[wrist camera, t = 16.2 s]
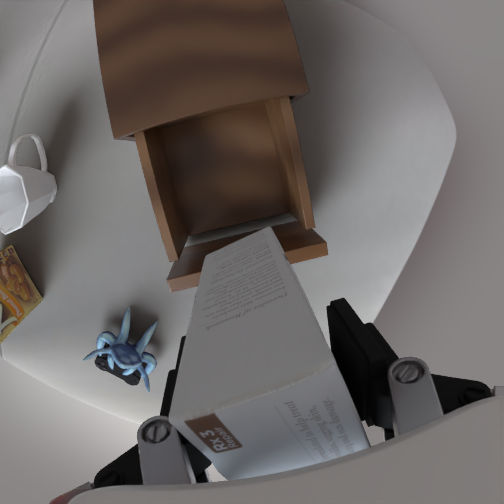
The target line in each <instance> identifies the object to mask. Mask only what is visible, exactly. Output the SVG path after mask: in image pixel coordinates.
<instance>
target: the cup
mask: <svg viewBox="0 0 504 504" xmlns="http://www.w3.org/2000/svg"><path fill="white" fill-rule="evenodd" d="M28 137H31V138H33V139H34V141H35V143H36V145H37V148H38V152H39V155H40V160H41V170H38V169H35V168H32V167H25V166H17V149H18V147H19V145H20V144H21V143H22V141H23V140H24V139H26V138H28ZM47 166H48V165H47V158H46V154H45V150H44V147H43V143H42V141H41V139H40V137H39V136H38V135H36V134H25V135H22V136H20V137H18V138H17V139H16V140H15V142H14V143H13V144H12V146H11V149H10V154H9V165H4V166H2V167H1V168H0V231H1V232H2V233H4V234H5V235H6V234H8V233H11V232H13V231H15V230H17V229H20V228H22V227H23V226H24V225H26V224H27V223H28V222H29V221H30V220H32V219H33V218H34V217H35V216H37V215H38V214H39V213H41V212H42V211H43V210H44V209H45V208H46V207H47V206H48V204H49V203H52V202H53V201H54V198H55V195H56V193H57V190H58V188H57V184H56V180H55V176H54V175H52V174H51V173H49V172H47Z"/></svg>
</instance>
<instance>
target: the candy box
mask: <svg viewBox="0 0 504 504" xmlns="http://www.w3.org/2000/svg"><path fill="white" fill-rule="evenodd" d="M42 300H43V298H42V297H41V295H40V294H39V292H38V290H37V289H36V287H35V285H34V284H33V282H32V280H31V278H30V277H29V275H28V273H27V272H26V270H25V268H24V266H23V265H22V263H21V261H20V259H19V257H18V255H17V254H16V251H15V249H14V247H13V245H10V246H8V247H7V248H5V249H3V250H1V251H0V344H1V343H2V342H3V340H4V339H5V338H6V337H7V336H8V335H9V334H10V333H11V332H12V331H13V330H14V329H15V327H16V326H17V325H18V324H19V323H20V322H21V321H22V320H23V319H24V318H25V317H26V316H27V315H28V314H29V313H30V312H31V311H32V310H33V309H34V308H35V307H36V306H37V305H38V304H39V303H40V302H41V301H42Z"/></svg>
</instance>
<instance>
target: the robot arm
mask: <svg viewBox="0 0 504 504" xmlns="http://www.w3.org/2000/svg"><path fill="white" fill-rule="evenodd" d="M327 317H328V326H329V334H330V344H331V352H332V354H333V356H334V358H335V361H336V364H337V367H338V369H339V371H340V373H341V375H342V377H343V379H344V382H345V384H346V386H347V389H348V391H349V393H350V396H351V398H352V400H353V403H354V405H355V408H356V410H357V412H358V415H359V417H360V420H361V421H364V420H365V421H366V423H367V425H368V427H369V426H372V425H375V426H378V427H382V436H383V442H382V443H380V444H377V445H374V446H371V447H369V448H366V449H363V450H360V451H357V452H354V453H351V454H348V455H345V456H342V457H338V458H335V459H332V460H328V461H325V462H321V463H317V464H314V465H310V466H306V467H302V468H297V469H293V470H289V471H284V472H279V473H274V474H268V475H263V476H257V477H251V478H244V479H237V480H228V481H220V482H212V481H211V478H210V476H209V473H208V470H207V468H208V467H209V466H210V465H211V464H212V462H211V461H210V460H209V459H208V458H207V457H206V456H205V455H204V454H203V453H202V452H201V451H200V450H198V449H197V448H196V447H195V446H194V445H193V444H192V443H191V442H190V441H189V440H188V439H186V438H185V437H184V436H183V435H182V434H181V433H180V432H179V431H178V430H177V429H176V428H175V427H174V426H173V425H172V424H171V423H170V422H169V413H170V408H171V404H172V398H173V394H174V390H175V385H176V380H177V375H178V370H179V365H180V361H181V357H182V352H183V348H184V343H185V339H186V336H183V337H182V338H181V343H180V348H179V353H178V358H177V363H176V369H174V370H170V371H169V373H168V377H167V382H166V387H165V392H164V397H163V402H162V407H161V412H160V416H154V417H152V418H149V419H148V420H146V421H145V422H143V423H142V425H141V426H140V427H139V429H138V432H137V440H138V444H136V445H135V446H134V447H132V448H131V449H130V450H128V451H127V452H125V453H124V454H123V455H121V456H120V457H118V458H117V459H116V460H114V461H113V462H111V463H110V464H108V465H107V466H105V467H104V468H103V469H101V470H100V471H99V472H98V473H97V475H96V476H95V479H94V483H92V484H91V483H90V482H87V483H85V484H83V485H81V486H79V487H77V488H75V489H73V490H71V491H69V492H67V493H65V494H63V495H61V496H59V497H57V498H55V499H53V500H52V501H51V502H50V504H504V386H494V388H493V389H490V388H489V387H488V386H487V385H486V384H484V383H482V382H479V381H473V380H467V379H460V378H452V377H447V376H441V375H435V374H430V371H429V368H428V366H427V365H426V363H425V362H424V361H422V360H421V359H418V358H414V357H404V358H400V359H399V358H398V356H397V355H396V354H395V353H394V351H393V350H392V349H391V347H390V346H389V344H388V343H387V342H386V340H385V339H384V338H383V336H382V335H381V334H380V333H379V331H378V330H377V329H376V327H375V326H374V325H373V324H372V323H370V322H369V323H366V324H363V322H362V321H361V319H360V318H359V317H358V315H357V314H356V313H355V311H354V310H353V309H352V307H351V306H350V305H349V303H348V302H347V301H346V299H345V298H341V299H337V300H334V301H331V302H330V305H329V306H327Z"/></svg>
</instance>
